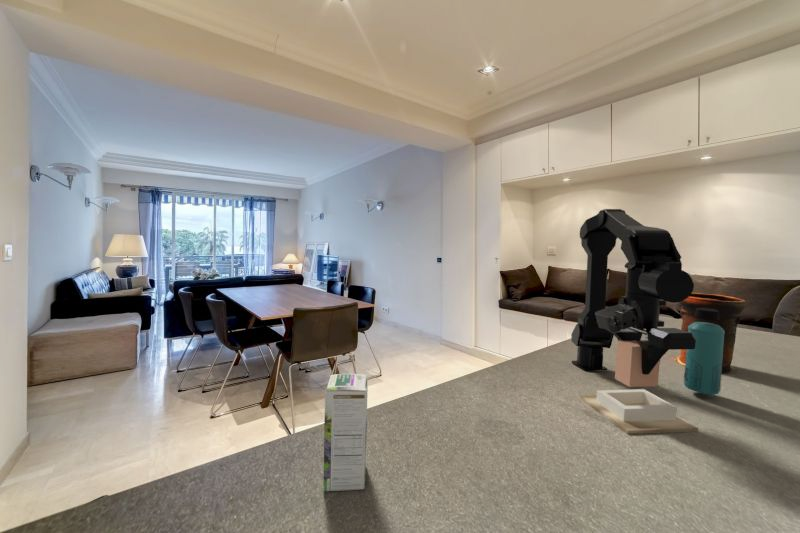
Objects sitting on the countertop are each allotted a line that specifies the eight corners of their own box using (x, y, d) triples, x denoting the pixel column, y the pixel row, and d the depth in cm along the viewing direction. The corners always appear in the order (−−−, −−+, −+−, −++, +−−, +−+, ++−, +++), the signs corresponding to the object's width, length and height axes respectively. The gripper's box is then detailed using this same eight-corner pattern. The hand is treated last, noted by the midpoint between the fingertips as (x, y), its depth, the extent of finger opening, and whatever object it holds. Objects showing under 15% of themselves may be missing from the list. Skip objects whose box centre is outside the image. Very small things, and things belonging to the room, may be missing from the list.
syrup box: (328, 465, 53) (328, 373, 52) (367, 463, 54) (367, 372, 52) (323, 492, 47) (322, 390, 46) (366, 490, 48) (367, 389, 47)
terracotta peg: (641, 377, 72) (644, 340, 72) (657, 386, 68) (660, 346, 68) (614, 378, 72) (617, 340, 71) (629, 386, 68) (632, 346, 67)
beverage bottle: (727, 403, 76) (736, 312, 74) (692, 399, 77) (700, 311, 75) (707, 390, 82) (715, 306, 80) (675, 387, 83) (682, 305, 82)
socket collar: (596, 401, 74) (597, 390, 74) (643, 400, 75) (644, 389, 75) (623, 421, 66) (624, 408, 66) (675, 419, 67) (677, 407, 67)
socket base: (580, 398, 77) (580, 395, 77) (639, 396, 78) (639, 393, 78) (627, 433, 63) (627, 430, 63) (697, 431, 64) (698, 427, 64)
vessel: (674, 352, 110) (682, 289, 108) (737, 365, 100) (747, 297, 98) (666, 363, 100) (674, 294, 98) (735, 379, 90) (746, 303, 87)
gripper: (576, 286, 77) (571, 354, 78) (641, 302, 59) (634, 391, 60) (622, 286, 78) (618, 354, 79) (702, 302, 60) (694, 390, 61)
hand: (636, 369), depth 70 cm, fingers closed on terracotta peg, 4 cm apart
